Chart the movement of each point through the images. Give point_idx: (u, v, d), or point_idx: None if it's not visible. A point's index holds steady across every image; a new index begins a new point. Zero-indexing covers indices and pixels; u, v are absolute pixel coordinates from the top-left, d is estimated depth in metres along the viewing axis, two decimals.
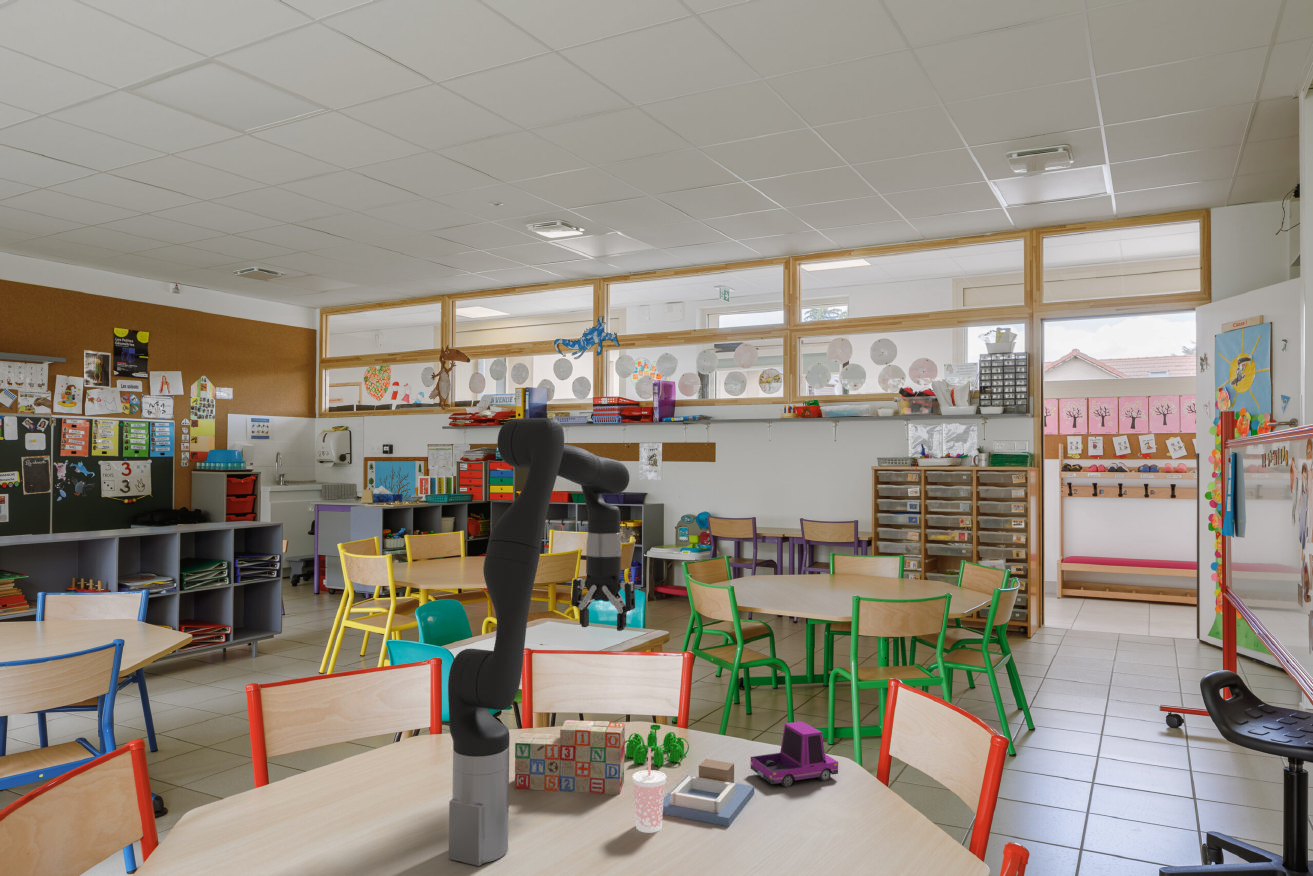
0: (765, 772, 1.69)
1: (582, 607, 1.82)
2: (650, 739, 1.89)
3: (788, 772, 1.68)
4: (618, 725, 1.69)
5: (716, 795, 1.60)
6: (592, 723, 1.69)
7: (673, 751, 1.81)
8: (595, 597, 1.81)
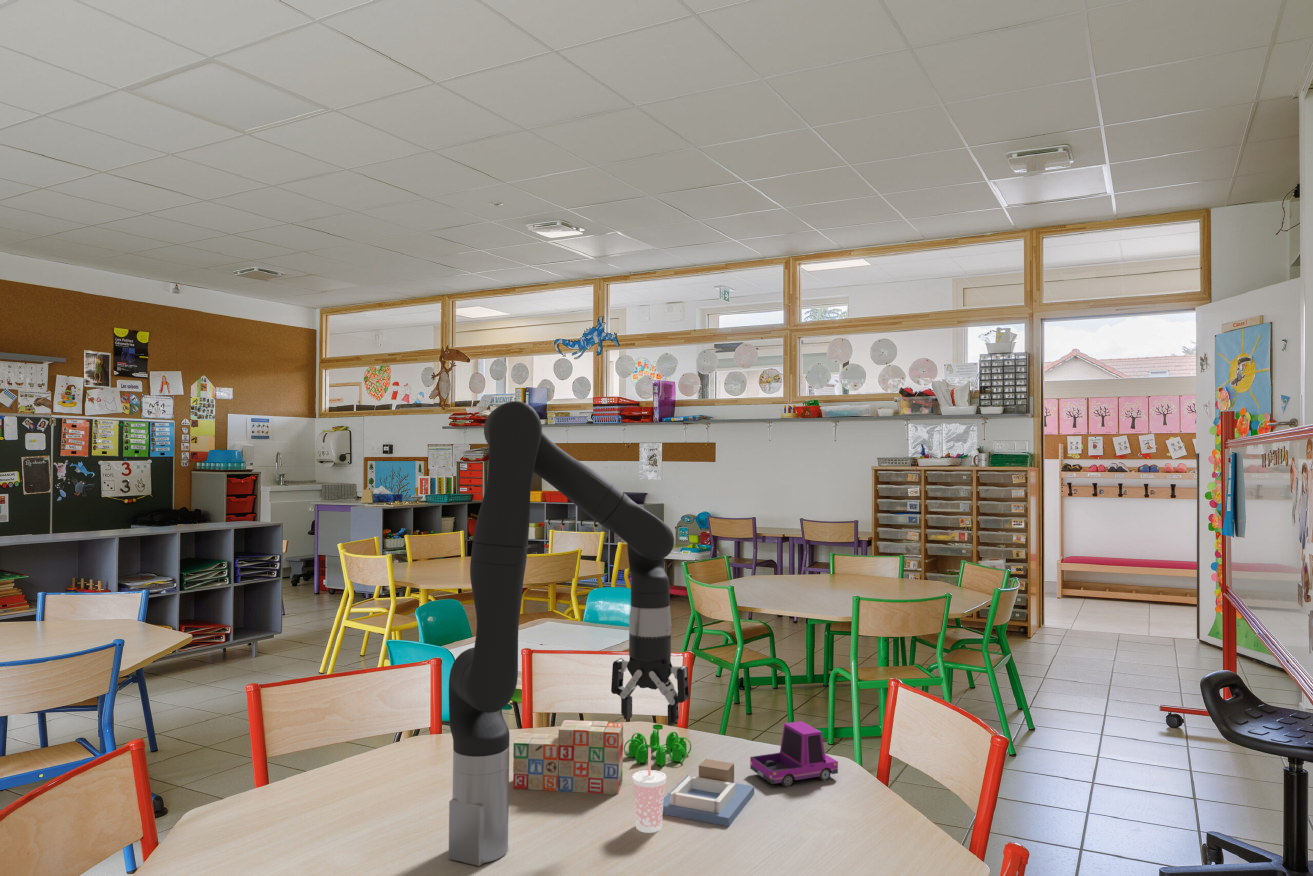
0: (765, 772, 1.69)
1: (624, 695, 1.51)
2: (652, 739, 1.90)
3: (788, 772, 1.68)
4: (616, 725, 1.69)
5: (716, 795, 1.60)
6: (590, 723, 1.69)
7: (675, 751, 1.81)
8: (640, 684, 1.50)
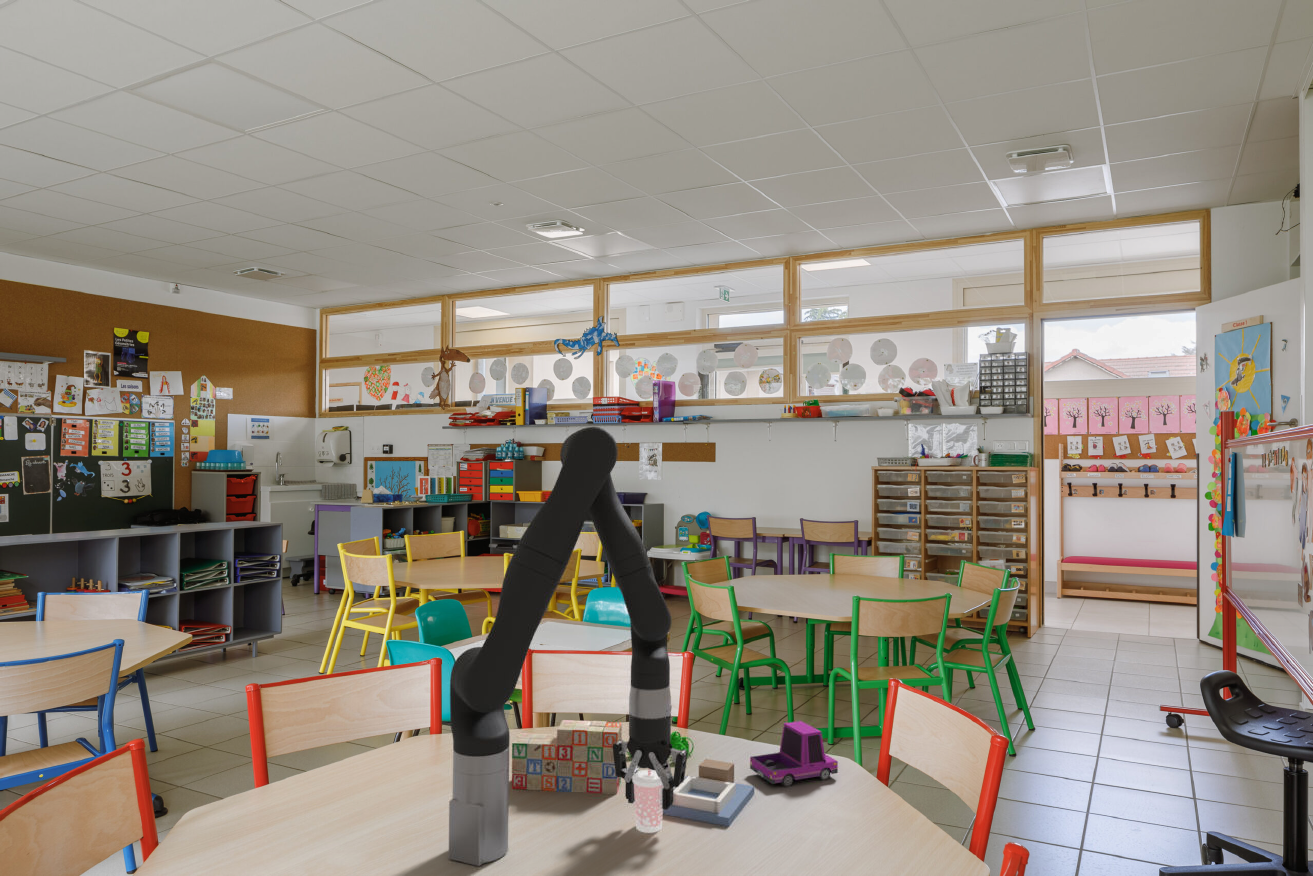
0: (765, 772, 1.69)
1: (629, 779, 1.50)
2: None
3: (788, 772, 1.68)
4: (615, 725, 1.69)
5: (716, 795, 1.60)
6: (589, 723, 1.70)
7: None
8: (642, 764, 1.49)
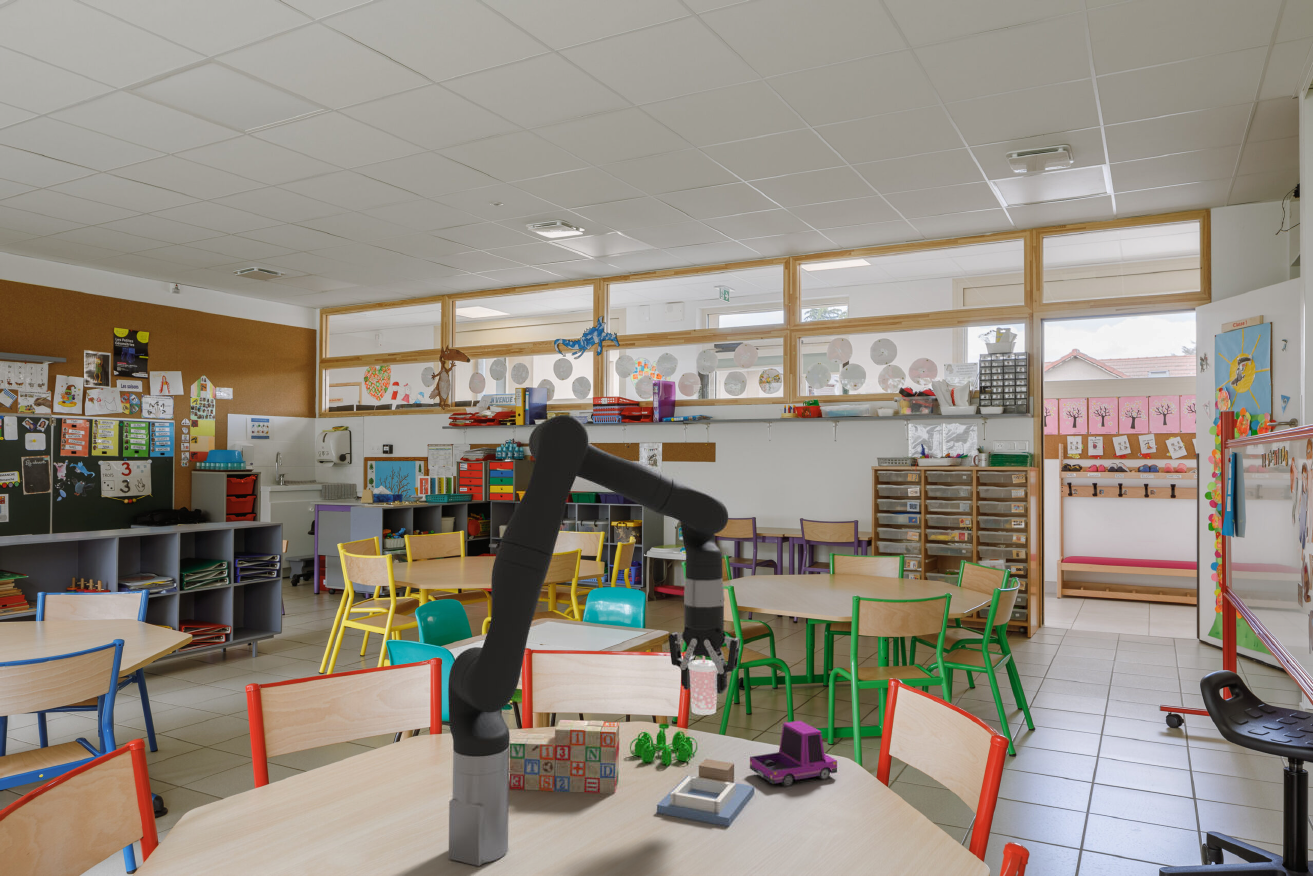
0: (766, 772, 1.69)
1: (684, 666, 1.59)
2: (659, 738, 1.90)
3: (788, 772, 1.68)
4: (613, 724, 1.69)
5: (716, 795, 1.60)
6: (587, 723, 1.70)
7: (681, 750, 1.81)
8: (697, 652, 1.58)
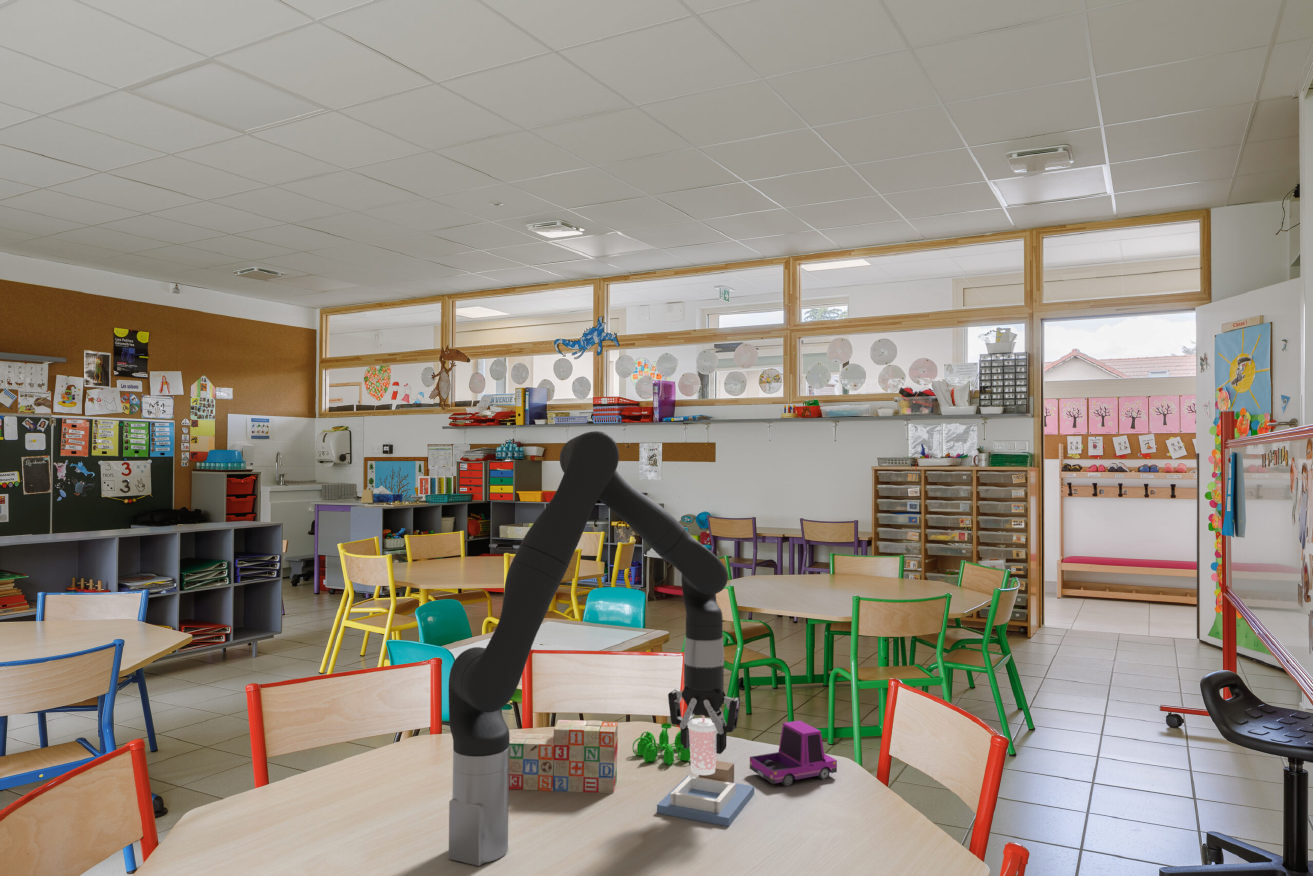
0: (766, 772, 1.69)
1: (684, 725, 1.59)
2: (662, 738, 1.90)
3: (788, 771, 1.68)
4: (611, 724, 1.69)
5: (716, 795, 1.60)
6: (585, 722, 1.70)
7: (683, 750, 1.82)
8: (697, 711, 1.58)
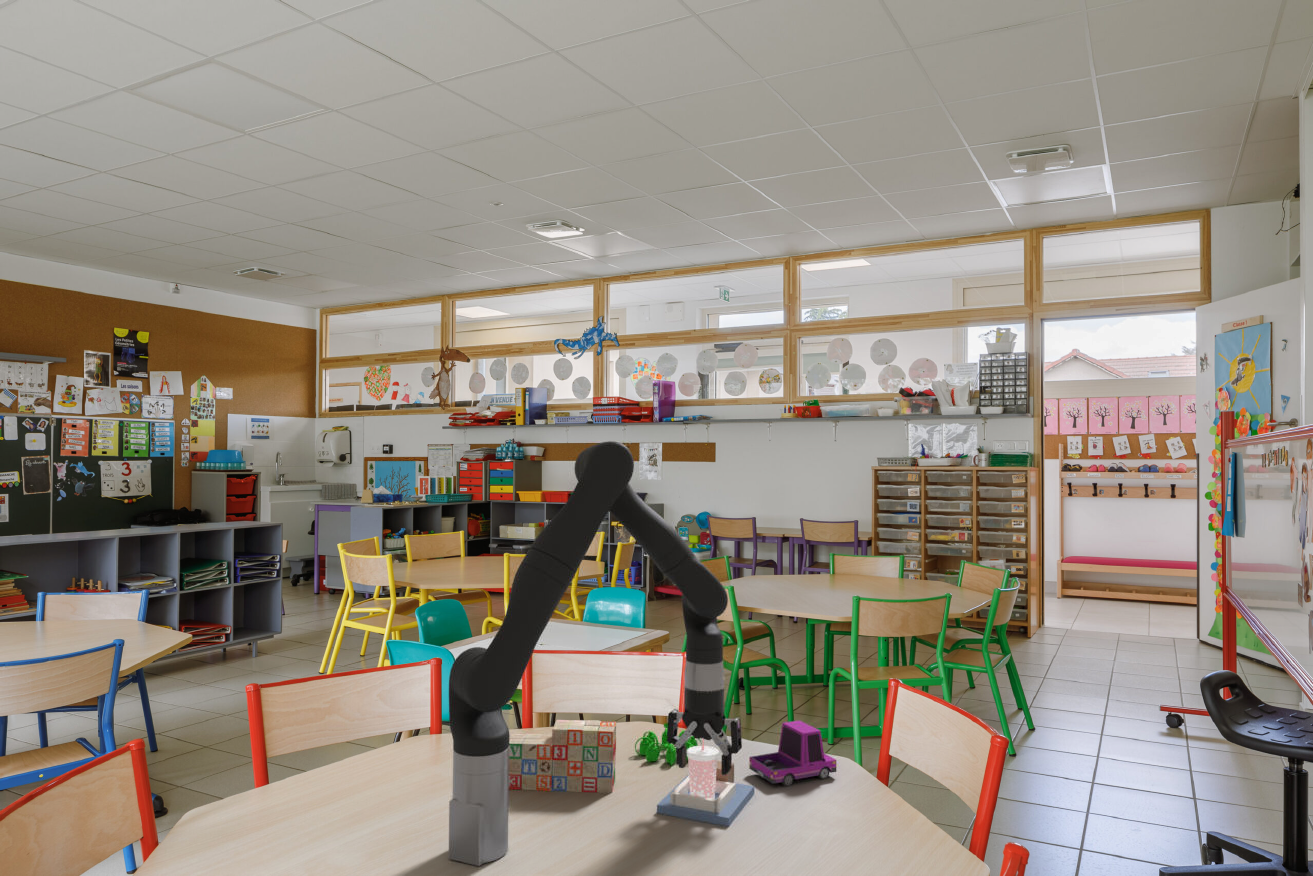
0: (766, 772, 1.69)
1: (679, 745, 1.59)
2: (664, 737, 1.91)
3: (789, 771, 1.68)
4: (610, 724, 1.69)
5: (716, 795, 1.60)
6: (583, 722, 1.70)
7: (686, 750, 1.82)
8: (695, 735, 1.58)
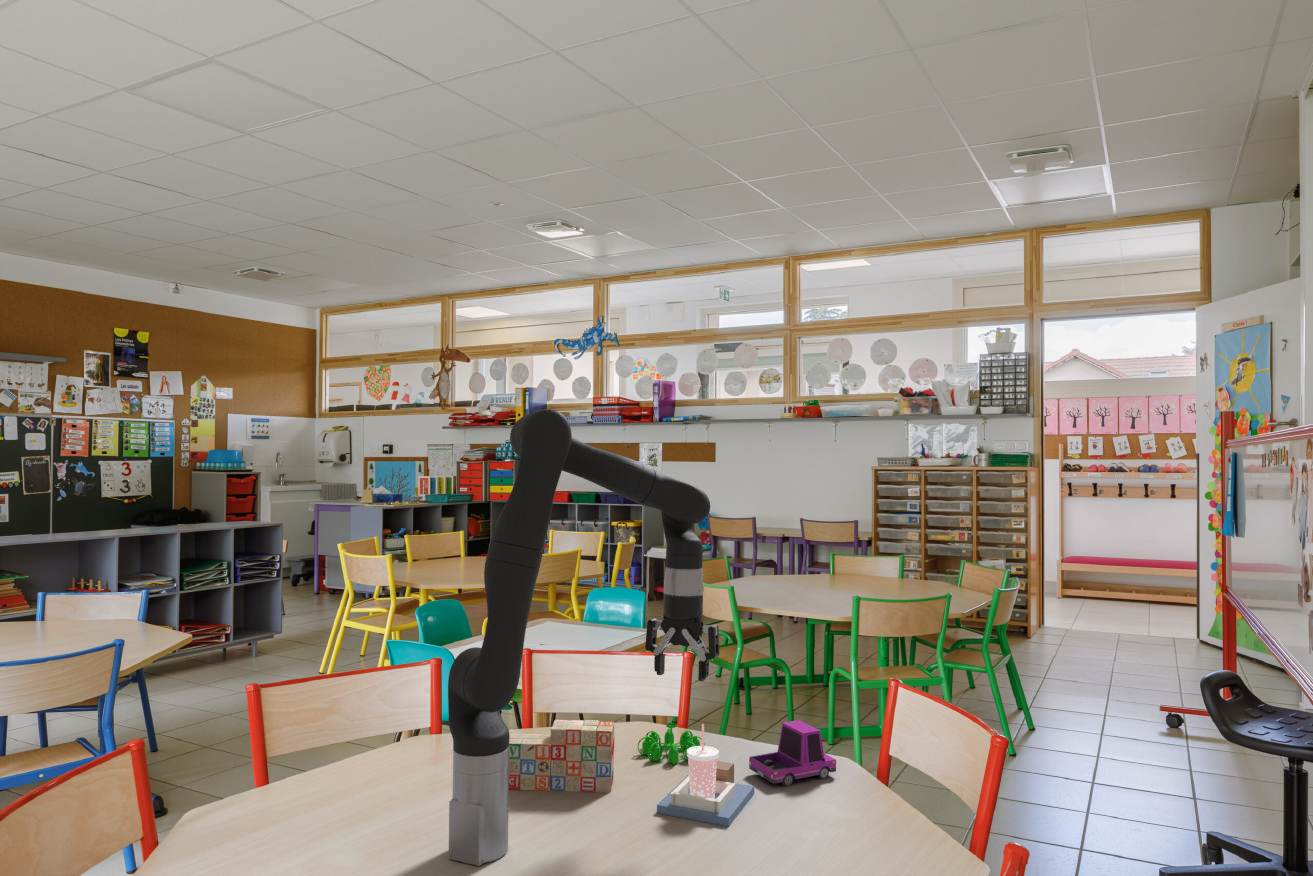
0: (766, 772, 1.69)
1: (658, 652, 1.59)
2: (667, 737, 1.91)
3: (789, 771, 1.69)
4: (608, 724, 1.70)
5: (716, 795, 1.60)
6: (582, 722, 1.70)
7: None
8: (673, 641, 1.58)
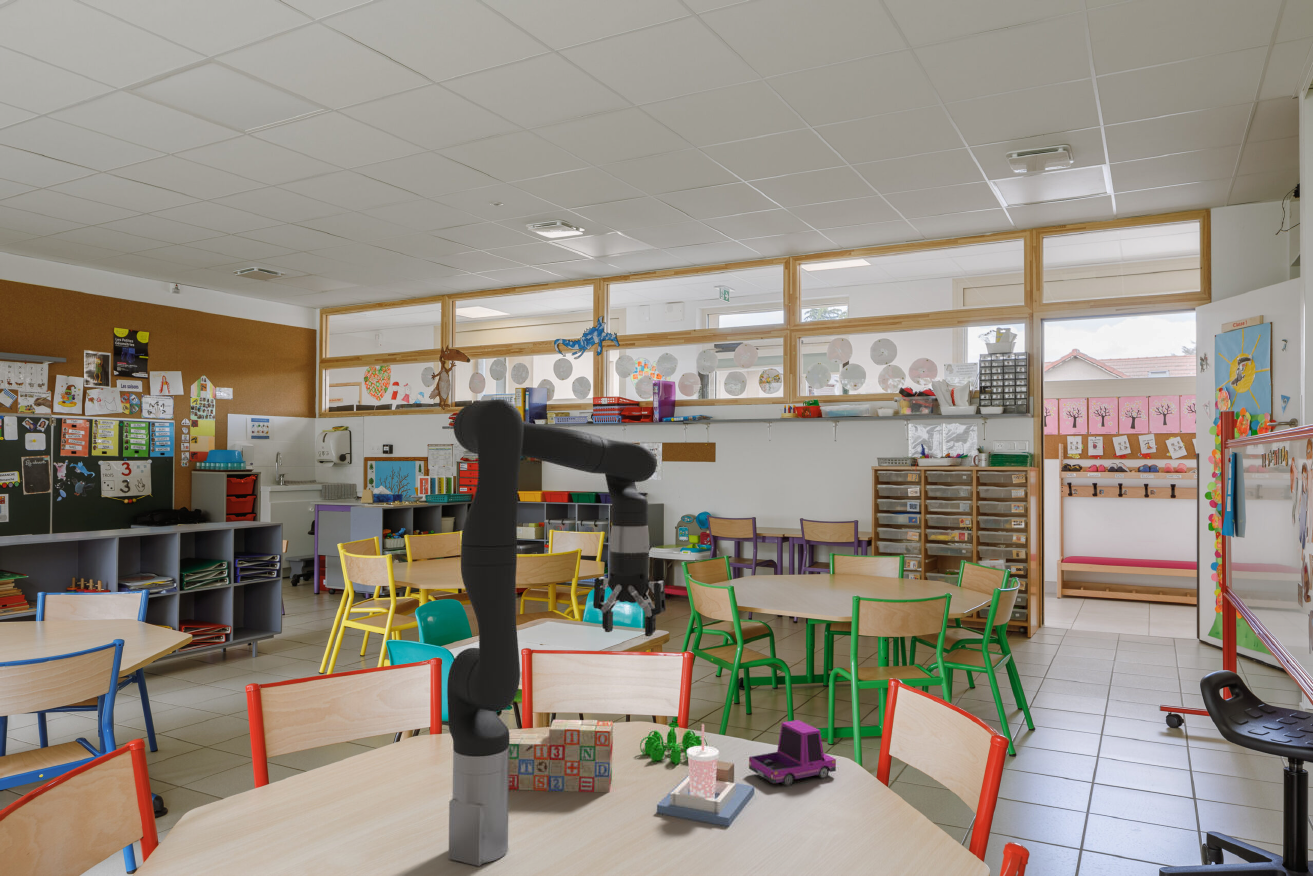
0: (766, 772, 1.69)
1: (605, 609, 1.61)
2: (669, 737, 1.91)
3: (789, 771, 1.69)
4: (606, 723, 1.70)
5: (716, 795, 1.60)
6: (580, 722, 1.70)
7: None
8: (620, 598, 1.60)
